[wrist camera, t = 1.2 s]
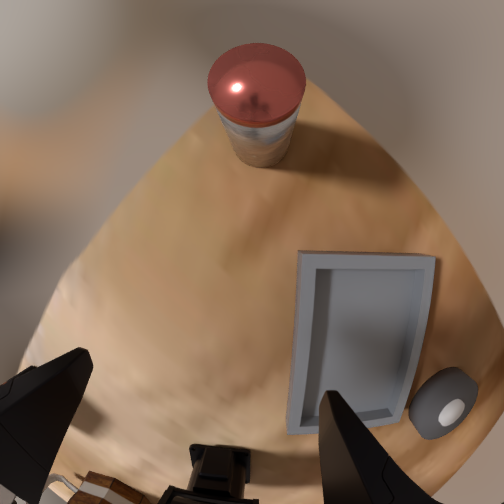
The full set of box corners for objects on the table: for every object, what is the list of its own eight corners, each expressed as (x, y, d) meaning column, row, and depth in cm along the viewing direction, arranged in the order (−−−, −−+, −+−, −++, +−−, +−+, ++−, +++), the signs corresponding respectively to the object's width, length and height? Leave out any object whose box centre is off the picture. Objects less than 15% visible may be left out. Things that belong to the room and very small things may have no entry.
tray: (390, 408, 22) (399, 422, 20) (285, 418, 23) (287, 434, 20) (420, 253, 21) (435, 256, 18) (297, 250, 21) (302, 253, 19)
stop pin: (288, 168, 20) (307, 122, 11) (231, 167, 21) (204, 121, 11) (288, 116, 20) (303, 44, 10) (233, 116, 20) (211, 45, 10)
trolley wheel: (451, 416, 22) (464, 431, 18) (400, 431, 22) (411, 450, 19) (472, 361, 21) (489, 374, 18) (420, 373, 22) (436, 390, 18)
